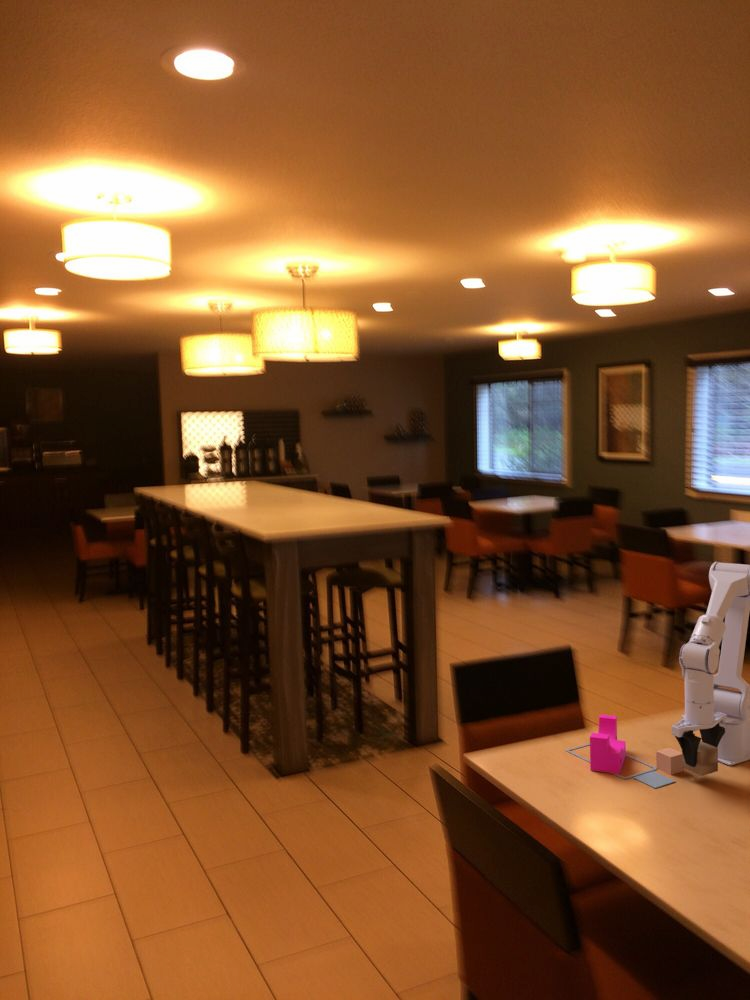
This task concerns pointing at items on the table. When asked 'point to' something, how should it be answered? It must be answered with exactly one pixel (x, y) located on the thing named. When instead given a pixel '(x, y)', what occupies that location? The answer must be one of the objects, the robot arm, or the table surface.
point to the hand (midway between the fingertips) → (699, 762)
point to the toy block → (607, 747)
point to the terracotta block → (669, 761)
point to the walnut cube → (704, 760)
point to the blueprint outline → (648, 778)
